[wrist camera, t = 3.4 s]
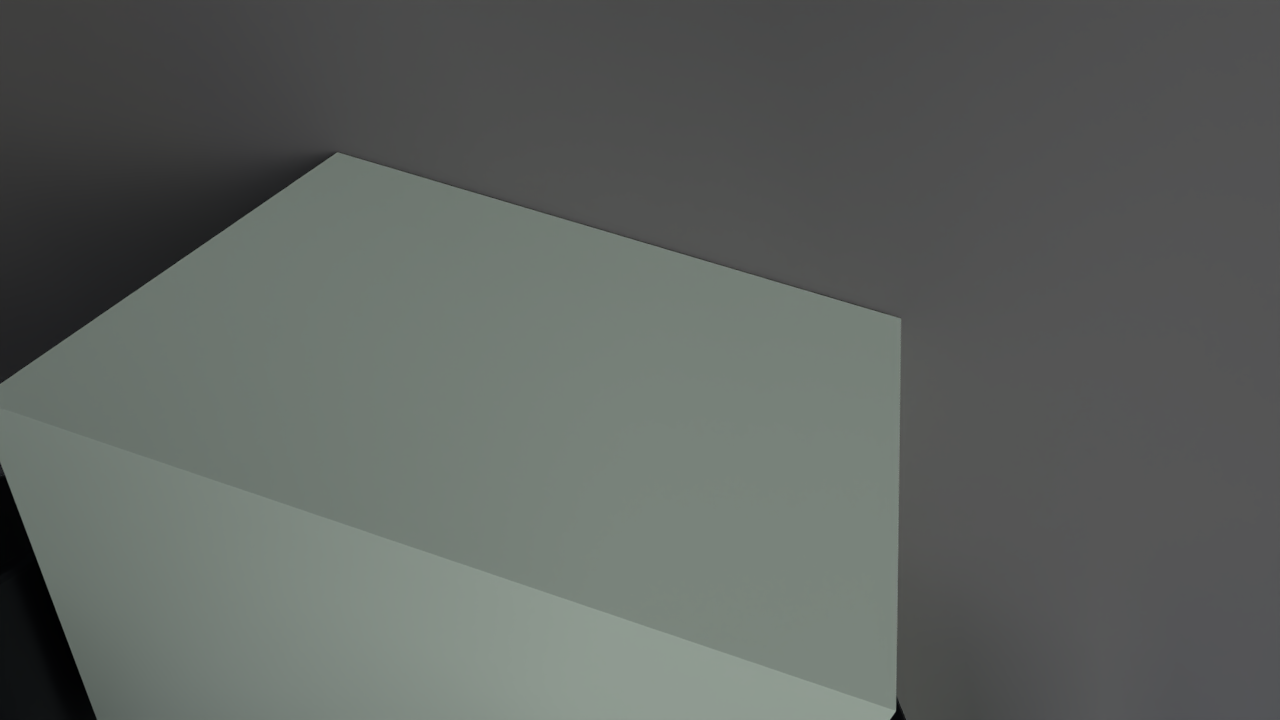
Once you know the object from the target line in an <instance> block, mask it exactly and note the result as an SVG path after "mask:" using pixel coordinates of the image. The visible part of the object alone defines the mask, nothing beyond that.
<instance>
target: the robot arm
mask: <svg viewBox="0 0 1280 720" xmlns="http://www.w3.org/2000/svg"><path fill="white" fill-rule="evenodd" d="M0 720H97V718H96V716H95V713H94V710H93V708H92V705H91V702H90V700H89V697H88V694H87V692H86V689H85V686H84V684H83V681H82V678H81V676H80V673H79V670H78V668H77V665H76V662H75V660H74V657H73V654H72V652H71V649H70V646H69V644H68V641H67V638H66V636H65V633H64V630H63V628H62V625H61V622H60V620H59V617H58V614H57V612H56V609H55V606H54V604H53V601H52V599H51V596H50V593H49V591H48V588H47V585H46V583H45V580H44V577H43V575H42V572H41V569H40V567H39V564H38V561H37V559H36V556H35V553H34V551H33V548H32V545H31V543H30V540H29V537H28V535H27V532H26V529H25V527H24V524H23V521H22V519H21V516H20V513H19V511H18V508H17V505H16V503H15V500H14V497H13V495H12V492H11V489H10V487H9V484H8V482H7V479H6V476H5V475H4V476H1V477H0ZM890 720H906V719H905V716H904V714H903V711H902V709H901V706H900V704H899V701H898V699H897V696H896V712H895V713H894V715H893V716H892V718H891V719H890Z"/></svg>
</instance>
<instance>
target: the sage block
mask: <svg viewBox="0 0 1280 720" xmlns="http://www.w3.org/2000/svg"><path fill="white" fill-rule="evenodd" d="M900 366H901V318H897V317H894V316H891V315H887V314H884V313H880V312H877V311H874V310H870V309H867V308H863V307H860V306H857V305H853V304H850V303H847V302H843V301H840V300H836V299H833V298H830V297H826V296H823V295H819V294H816V293H813V292H809V291H806V290H802V289H799V288H796V287H792V286H789V285H786V284H782V283H779V282H775V281H772V280H769V279H765V278H762V277H758V276H755V275H752V274H748V273H745V272H741V271H738V270H735V269H731V268H728V267H725V266H721V265H718V264H714V263H711V262H708V261H704V260H701V259H697V258H694V257H691V256H687V255H684V254H680V253H677V252H674V251H670V250H667V249H664V248H660V247H657V246H653V245H650V244H647V243H643V242H640V241H636V240H633V239H630V238H626V237H623V236H619V235H616V234H613V233H609V232H606V231H603V230H599V229H596V228H592V227H589V226H586V225H582V224H579V223H575V222H572V221H569V220H565V219H562V218H558V217H555V216H552V215H548V214H545V213H542V212H538V211H535V210H531V209H528V208H525V207H521V206H518V205H514V204H511V203H508V202H504V201H501V200H497V199H494V198H491V197H487V196H484V195H481V194H477V193H474V192H470V191H467V190H464V189H460V188H457V187H453V186H450V185H447V184H443V183H440V182H436V181H433V180H430V179H426V178H423V177H419V176H416V175H413V174H409V173H406V172H403V171H399V170H396V169H392V168H389V167H386V166H382V165H379V164H375V163H372V162H369V161H365V160H362V159H358V158H355V157H352V156H348V155H345V154H342V153H338V152H337V153H336V154H334V155H333V156H331V157H330V158H328V159H327V160H325V161H324V162H323V163H321V164H320V165H318V166H317V167H315V168H314V169H312V170H311V171H309V172H308V173H306V174H305V175H304V176H302V177H301V178H299V179H298V180H296V181H295V182H293V183H292V184H290V185H289V186H288V187H286V188H285V189H283V190H282V191H280V192H279V193H277V194H276V195H274V196H273V197H272V198H270V199H269V200H267V201H266V202H264V203H263V204H261V205H260V206H258V207H257V208H256V209H254V210H253V211H251V212H250V213H248V214H247V215H245V216H244V217H242V218H241V219H240V220H238V221H237V222H235V223H234V224H232V225H231V226H229V227H228V228H226V229H225V230H224V231H222V232H221V233H219V234H218V235H216V236H215V237H213V238H212V239H210V240H209V241H208V242H206V243H205V244H203V245H202V246H200V247H199V248H197V249H196V250H194V251H193V252H192V253H190V254H189V255H187V256H186V257H184V258H183V259H181V260H180V261H178V262H177V263H176V264H174V265H173V266H171V267H170V268H168V269H167V270H165V271H164V272H162V273H161V274H159V275H158V276H157V277H155V278H154V279H152V280H151V281H149V282H148V283H146V284H145V285H143V286H142V287H141V288H139V289H138V290H136V291H135V292H133V293H132V294H130V295H129V296H127V297H126V298H125V299H123V300H122V301H120V302H119V303H117V304H116V305H114V306H113V307H111V308H110V309H109V310H107V311H106V312H104V313H103V314H101V315H100V316H98V317H97V318H95V319H94V320H93V321H91V322H90V323H88V324H87V325H85V326H84V327H82V328H81V329H79V330H78V331H77V332H75V333H74V334H72V335H71V336H69V337H68V338H66V339H65V340H63V341H62V342H61V343H59V344H58V345H56V346H55V347H53V348H52V349H50V350H49V351H47V352H46V353H45V354H43V355H42V356H40V357H39V358H37V359H36V360H34V361H33V362H31V363H30V364H29V365H27V366H26V367H24V368H23V369H21V370H20V371H18V372H17V373H15V374H14V375H13V376H11V377H10V378H8V379H7V380H5V381H4V382H2V383H1V384H0V463H1V466H2V468H3V471H4V474H5V476H6V479H7V482H8V484H9V487H10V489H11V492H12V495H13V497H14V500H15V503H16V505H17V508H18V511H19V513H20V516H21V519H22V521H23V524H24V527H25V529H26V532H27V535H28V537H29V540H30V543H31V545H32V548H33V551H34V553H35V556H36V559H37V561H38V564H39V567H40V569H41V572H42V575H43V577H44V580H45V583H46V585H47V588H48V591H49V593H50V596H51V599H52V601H53V604H54V606H55V609H56V612H57V614H58V617H59V620H60V622H61V625H62V628H63V630H64V633H65V636H66V638H67V641H68V644H69V646H70V649H71V652H72V654H73V657H74V660H75V662H76V665H77V668H78V670H79V673H80V676H81V678H82V681H83V684H84V686H85V689H86V692H87V694H88V697H89V700H90V702H91V705H92V708H93V710H94V713H95V716H96V718H97V720H890V719H891V718H892V716H893V715H894V713H895V712H896V675H897V598H898V520H899V443H900Z"/></svg>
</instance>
